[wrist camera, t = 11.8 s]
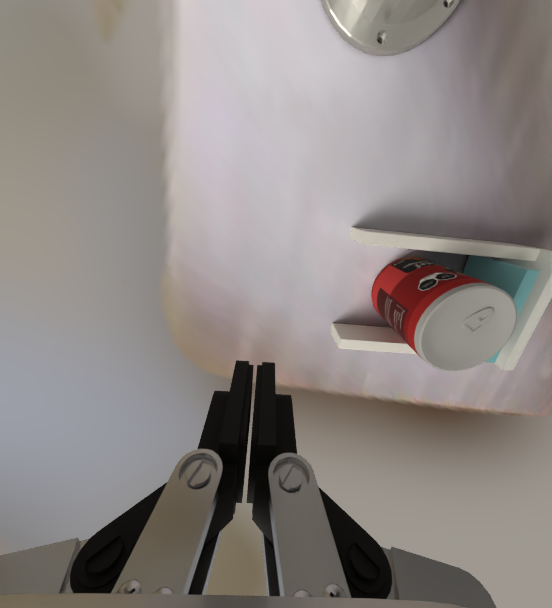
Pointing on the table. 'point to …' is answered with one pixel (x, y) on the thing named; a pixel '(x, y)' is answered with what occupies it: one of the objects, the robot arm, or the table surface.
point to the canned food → (444, 313)
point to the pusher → (503, 279)
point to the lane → (543, 260)
